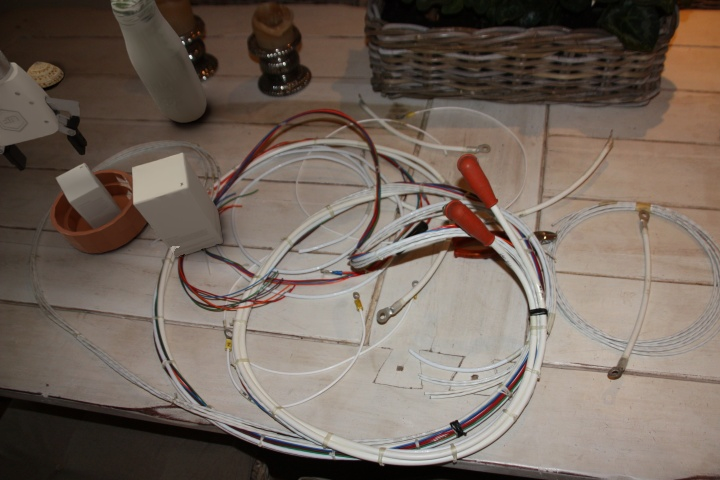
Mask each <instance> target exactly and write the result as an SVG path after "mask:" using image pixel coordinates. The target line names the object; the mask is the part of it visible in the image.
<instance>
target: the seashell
mask: <svg viewBox="0 0 720 480" xmlns="http://www.w3.org/2000/svg"><path fill="white" fill-rule="evenodd" d="M26 73H27V74H29V75H30V76H31V77H32V78H33V79H34V80H35V81H36V82H37V83H38V85H39V86H40V87H41V88H42V89H44V88H48V87H51V86H53V85H56V84H58V83H60V81H62V80H63V78H64V77H65V74H64V72H63V70H62V69H61V68H60V67H58V66H56V65H55V64H52V63H49V62H44V61H36V62H34V63H33V64H31V66H29V68H28V69H27V71H26Z"/></svg>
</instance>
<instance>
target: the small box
mask: <svg viewBox="0 0 720 480" xmlns="http://www.w3.org/2000/svg"><path fill="white" fill-rule="evenodd" d="M93 172H94V171H92V169H90V167H89V166H88V165H87V163H86V162H83V163H81V164H79V165H77V166H75V167H74V168H72V169H69V170H68V171H65V172H64V173H62V174H60V175H58V176H56V177H55V180H56V182H57V184H58V186H59V187H60V189H61V192H62V191H63V193H64V194H65V196H66V198H67V200H68V202H69V203H70V204H71V205H72V206H73V208H74V209H75V210H76V211H77V212H78V213H79V214H80V215H81V216H82V217H83V218H84V219H85V220H86V221H87V222H88V224H89V225H90V226H91V227H92V228H93V229H96V228H99V227H101V226H103V225H105V224H107V223H109V222H111V221H112V220H113V219H114V218H116V217H117V216H118V215H119V214H121V212H122V211H121V209H120V208H119V206H118V205H117V203H116V201H115V200H114V198H113V197H112V196H111V195H110V193H109V192H108V191H107V190H106V188H105V187H104V186H103V185H102V183H101V182H100V181H99V180H98V178H97V177H96V176H95V175H94V174H93Z"/></svg>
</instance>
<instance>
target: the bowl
mask: <svg viewBox="0 0 720 480" xmlns="http://www.w3.org/2000/svg"><path fill="white" fill-rule="evenodd" d="M92 172H93V174H94V175H95V176H96V177H97V178H98V180H99V181H100V182H101V183H102V185H103V186H104V187H105V188H106V190H107V191H108V192H109V193H110V195H111V196H112V197H113V198H114V200H115V201H116V203H117V205H118V206H119V208H120V209H121V211H122V212H121V214H119V215H118V216H117V217H116V218H114V219H113V220H112V221H111V222H109V223H107V224H105V225H103V226H101V227H99V228H96V229H93V228H92V227H91V226H90V225H89V224H88V222H87V221H86V220H85V219H84V218H83V217H82V216H81V215H80V214H79V213H78V212H77V211H76V210H75V209H74V208H73V206H72V205H71V204H70V203H69V202H68V200H67V198H66V196H65V194H64V193H63V191H62V190H61V191H60V193H59V194H58V195H57V196H56V198H55V199H54V201H53V203H52V204H51V207H50V214H49V219H50V222H51V225H52V227H53V228H54V229H55V230H56V231H57V232H58V233H59V234H60V235H61V236H62V237H63V238H64V239H65V240H66V241H67V242H68V243H69V244H70V245H71V246H73V247H74V248H75V249H76V250H78V252H79V251H80V252H83V253H87V254H102V253H105V252H110V251H113V250H116V249H119V248H120V247H122V246H124V245H126V244H128V243H130V241H132V240H133V239H134V238H135V237H136V236H137V235H139V234H140V233H141V231H142V230H143V229H144V227H146V225H147V223H148V222H147V221H146V219H145V218H144V217H143V216H142V214H141V213H140V212H139V211H138V209H137V208H136V207H135V206H134V205H133V176H132V175H130V174H129V173H127V172H126V171H123V170H118V169H114V168H113V169H112V168H111V169H100V170H97V171H96V170H95V171H92Z"/></svg>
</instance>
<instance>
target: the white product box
mask: <svg viewBox="0 0 720 480" xmlns="http://www.w3.org/2000/svg"><path fill="white" fill-rule="evenodd" d="M131 171H132V175H131V176H132V177H133V205H134V206H135V207H136V208H137V209H138V211H139V212H140V213H141V214H142V216H143V217H144V218H145V219H146V221H147V223H148V224H149V226H150V227H151V228H152V229H153V231H154V232H155V233H156V235H157V236H158V237H159V238H160V240H161V241H162V243H164V245H165V246H166V247H167V249H168V250H170V247H172V246H180V247H179V248H176V249H175V251H174V255H173V256H174V257H175V256H179V255H183V254H185V255H184V256H187V255H190V254H193V253H196V252H199V251H202V250H201V249H202V248H206V249H209V248H211V247H215V246H216V245H215V244H219V245H221V244H223V243H224V239H223V231H222V226H221V220H220V214H219V209H218V207H217V205H216V204H215V202H214V201H213V199H212V198H211V197H212V196H210V194H209V192H208V190H207V189H206V188H205V186H204V184H203V182H202V181H201V179H200V178H199V176H198V174H197V172H196V171H195V169H194V168H193V166H192V164H191V163H190V161H189V159H188V158H187V155H186V154H185V152H180V153H177V154H172V155H170V156H166V157H163V158H160V159H155V160H153V161H150V162H146V163H142V164H140V165H136V166H132V167H131ZM217 209H218V210H217Z"/></svg>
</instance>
